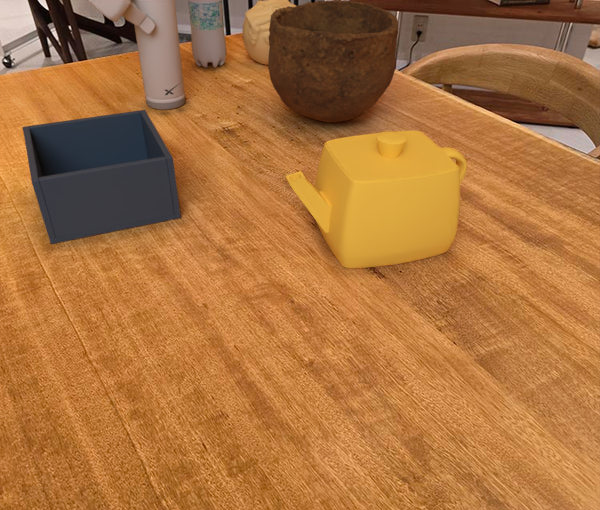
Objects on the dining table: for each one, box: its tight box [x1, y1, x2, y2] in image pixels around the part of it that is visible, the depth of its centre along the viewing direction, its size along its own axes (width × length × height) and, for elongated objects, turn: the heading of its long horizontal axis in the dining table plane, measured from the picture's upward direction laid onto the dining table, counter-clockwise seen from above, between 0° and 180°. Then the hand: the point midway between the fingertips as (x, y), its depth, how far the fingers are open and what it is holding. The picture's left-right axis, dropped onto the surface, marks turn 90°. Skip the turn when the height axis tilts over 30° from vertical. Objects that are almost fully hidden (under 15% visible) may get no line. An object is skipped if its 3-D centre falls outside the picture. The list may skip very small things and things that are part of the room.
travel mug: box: [131, 0, 186, 111], centre depth 89 cm, size 6×7×20 cm
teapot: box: [284, 130, 468, 269], centre depth 62 cm, size 20×12×12 cm, turn 106°
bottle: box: [187, 0, 227, 69], centre depth 104 cm, size 7×7×20 cm
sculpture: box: [241, 0, 297, 66], centre depth 109 cm, size 11×12×11 cm
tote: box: [22, 109, 182, 245], centre depth 69 cm, size 14×14×8 cm
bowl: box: [267, 0, 400, 123], centre depth 87 cm, size 19×19×15 cm
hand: (153, 20), depth 88 cm, fingers open, 8 cm apart
